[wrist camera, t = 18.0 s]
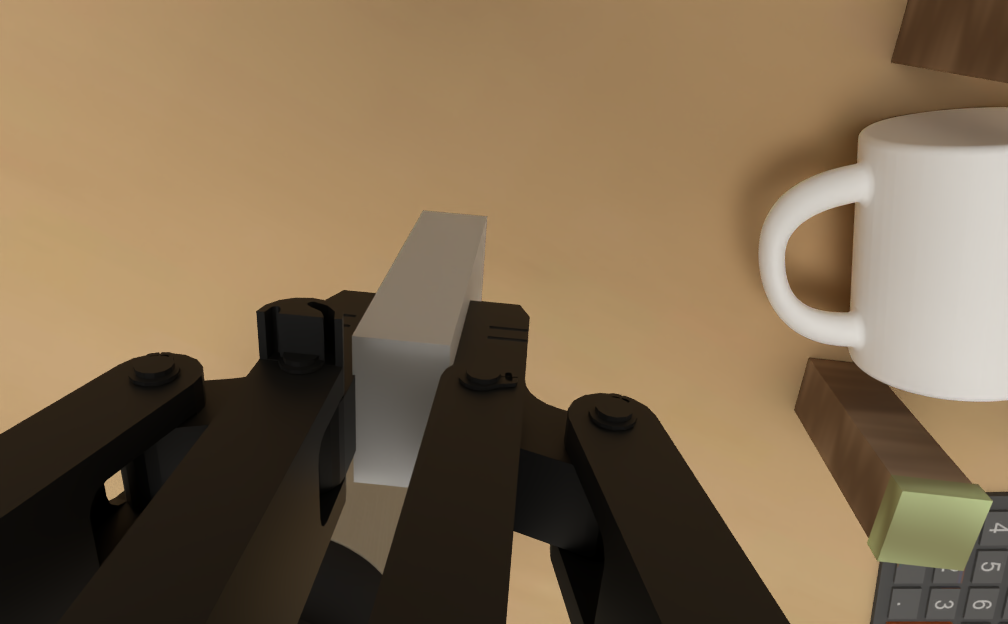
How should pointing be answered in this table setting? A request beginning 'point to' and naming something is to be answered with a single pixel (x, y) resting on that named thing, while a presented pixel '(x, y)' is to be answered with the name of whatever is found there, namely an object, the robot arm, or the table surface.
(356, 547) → the travel mug
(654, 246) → the table surface
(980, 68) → the header dock
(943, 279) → the mug
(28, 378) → the table surface
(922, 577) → the calculator
